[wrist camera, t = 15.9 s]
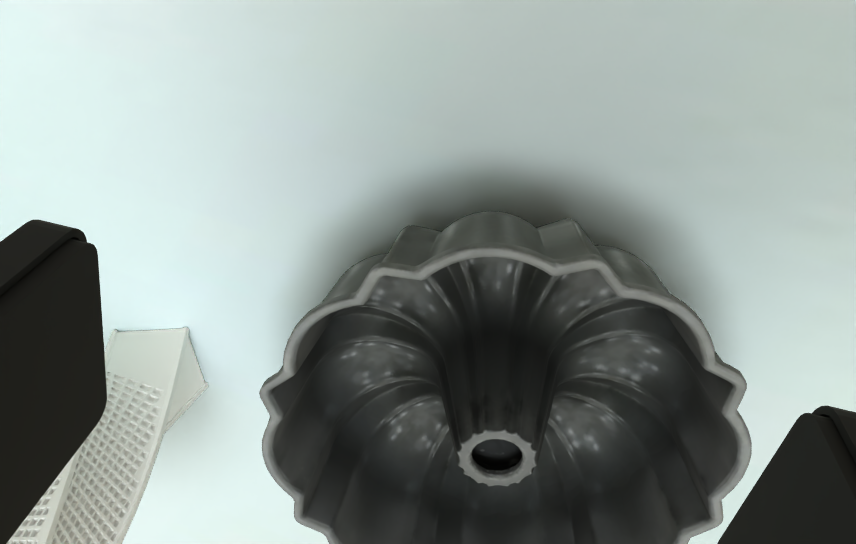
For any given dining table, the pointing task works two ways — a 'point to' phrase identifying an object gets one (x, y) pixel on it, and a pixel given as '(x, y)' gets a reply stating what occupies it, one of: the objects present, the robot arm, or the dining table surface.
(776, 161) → the dining table surface
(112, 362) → the skyscraper
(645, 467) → the bundt pan
